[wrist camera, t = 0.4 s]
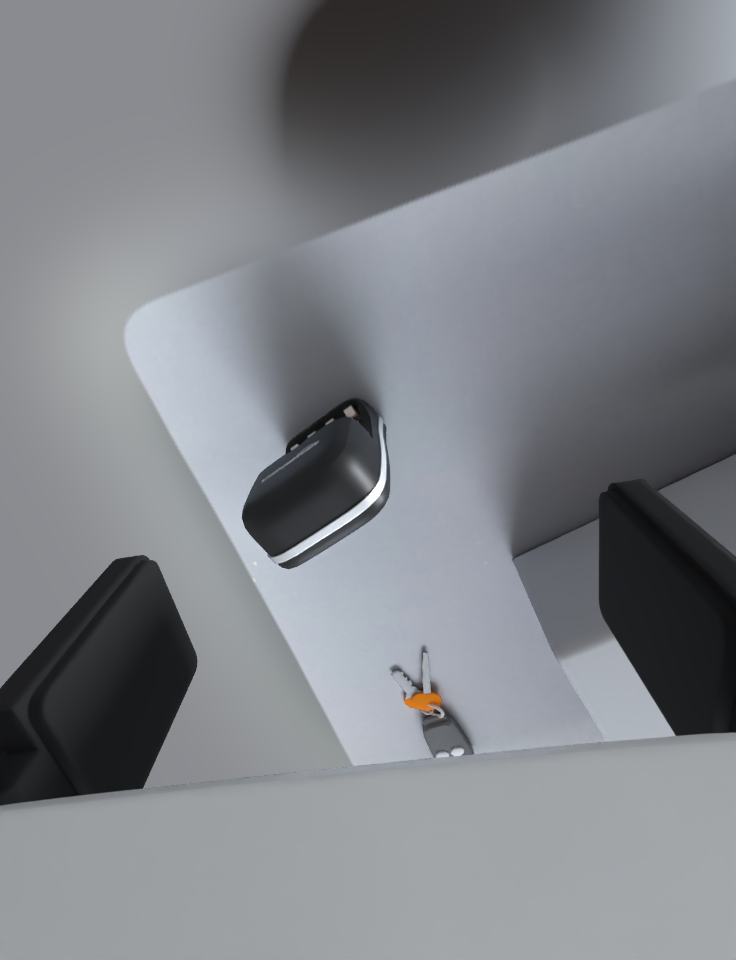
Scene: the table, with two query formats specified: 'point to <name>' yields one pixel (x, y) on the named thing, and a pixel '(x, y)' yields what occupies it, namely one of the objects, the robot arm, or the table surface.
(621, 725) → the box
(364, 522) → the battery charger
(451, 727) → the key chain
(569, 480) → the table surface
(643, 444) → the table surface
